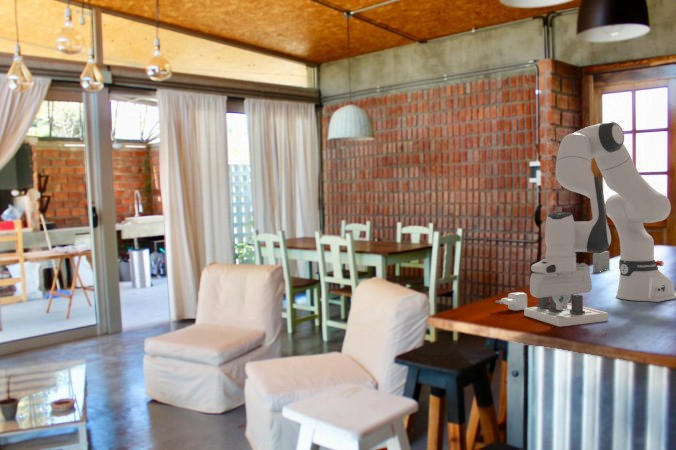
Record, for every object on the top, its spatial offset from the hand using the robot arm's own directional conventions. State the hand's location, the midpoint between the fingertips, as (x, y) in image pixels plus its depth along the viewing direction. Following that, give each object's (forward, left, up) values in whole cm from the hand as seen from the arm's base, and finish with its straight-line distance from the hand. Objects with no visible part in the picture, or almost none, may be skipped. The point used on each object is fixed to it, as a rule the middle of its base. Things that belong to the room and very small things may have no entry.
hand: (561, 309), depth 182 cm
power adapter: (+2, -24, -5) cm, 24 cm away
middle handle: (-2, -6, -2) cm, 7 cm away
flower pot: (-20, -26, -5) cm, 33 cm away
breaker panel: (-6, -6, -5) cm, 9 cm away
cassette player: (-88, -85, -5) cm, 122 cm away
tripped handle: (-6, 0, -2) cm, 6 cm away
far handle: (-2, -12, -2) cm, 12 cm away
